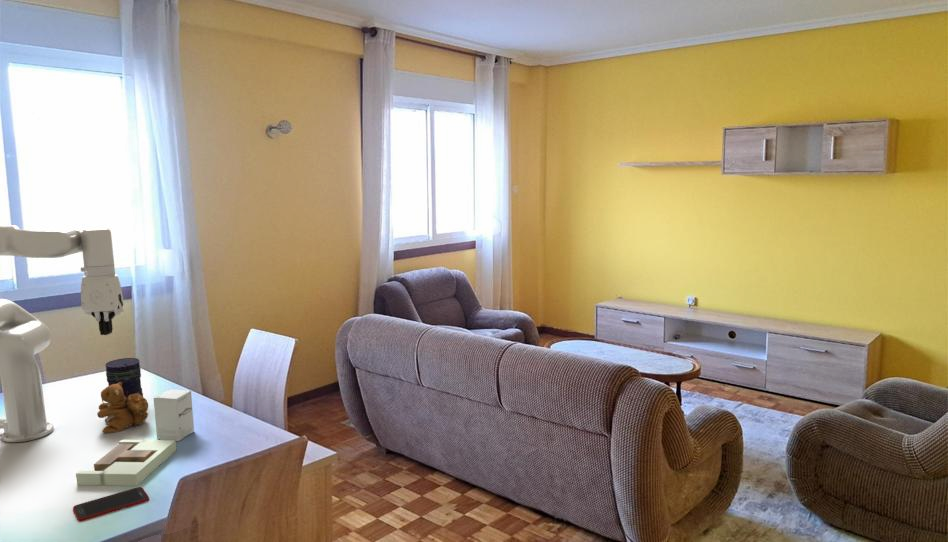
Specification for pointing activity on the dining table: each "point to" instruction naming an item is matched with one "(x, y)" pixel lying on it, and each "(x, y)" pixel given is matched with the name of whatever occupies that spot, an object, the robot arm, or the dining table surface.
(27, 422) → the robot arm
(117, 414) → the stuffed squirrel
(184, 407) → the supplement box
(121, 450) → the tee
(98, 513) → the cell phone
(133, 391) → the dark blue barrel
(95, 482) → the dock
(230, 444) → the dining table surface
